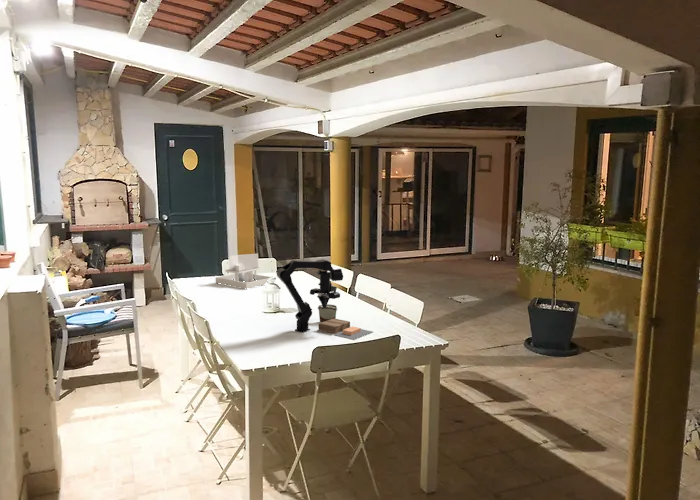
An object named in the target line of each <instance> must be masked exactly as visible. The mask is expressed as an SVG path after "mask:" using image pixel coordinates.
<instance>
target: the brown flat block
mask: <svg viewBox="0 0 700 500" xmlns="http://www.w3.org/2000/svg"><path fill="white" fill-rule="evenodd" d="M349 327H351V321H348V320H344V319H339V318H336V319H335V318H333V319H330V320H328V321H325V322H319V323H318V331H320V332H325V333H329V334H334V335H335V334H337V333H340V332H343V330H344V329H347V328H349Z"/></svg>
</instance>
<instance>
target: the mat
mask: <svg viewBox="0 0 700 500" xmlns="http://www.w3.org/2000/svg"><path fill="white" fill-rule="evenodd" d="M372 333H374V331H372V330H367V329H364V328H361V332H359V333H356V334H354V335H347V334H343V331H342V332H339V333H336V334H334V336H337V337H340V338H344V339H349V340H352V341H353V340H354V341H355V340H357V338H358V339H360V338H362V336H363V337H365V336H367V334H368V335H371V334H372ZM364 335H365V336H364Z"/></svg>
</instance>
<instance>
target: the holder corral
mask: <svg viewBox="0 0 700 500" xmlns="http://www.w3.org/2000/svg"><path fill="white" fill-rule="evenodd" d="M271 277H272V276H269V275H261V274H257V273H256V280H257V281H255V280H253V281H252V282H247V283H246V282H240V281H235V280H232V279H235V273H231V274H227V275H221V276H217V277H215V284H216V283H221V284H226V285H231V286H236V287H241V288H246V289H245V290H248V289H247V288H251V289H253V288H252V287H255V286H260V285H264V284H265V283H266V282H267V280H268V279H269V278H271ZM253 279H255V273H253ZM221 284H220V285H221ZM226 285H225V286H226ZM231 286H230V287H231ZM264 286H265V285H264ZM236 287H235V288H236ZM260 287H261V286H260ZM241 288H240V289H241ZM255 288H256V287H255Z"/></svg>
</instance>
